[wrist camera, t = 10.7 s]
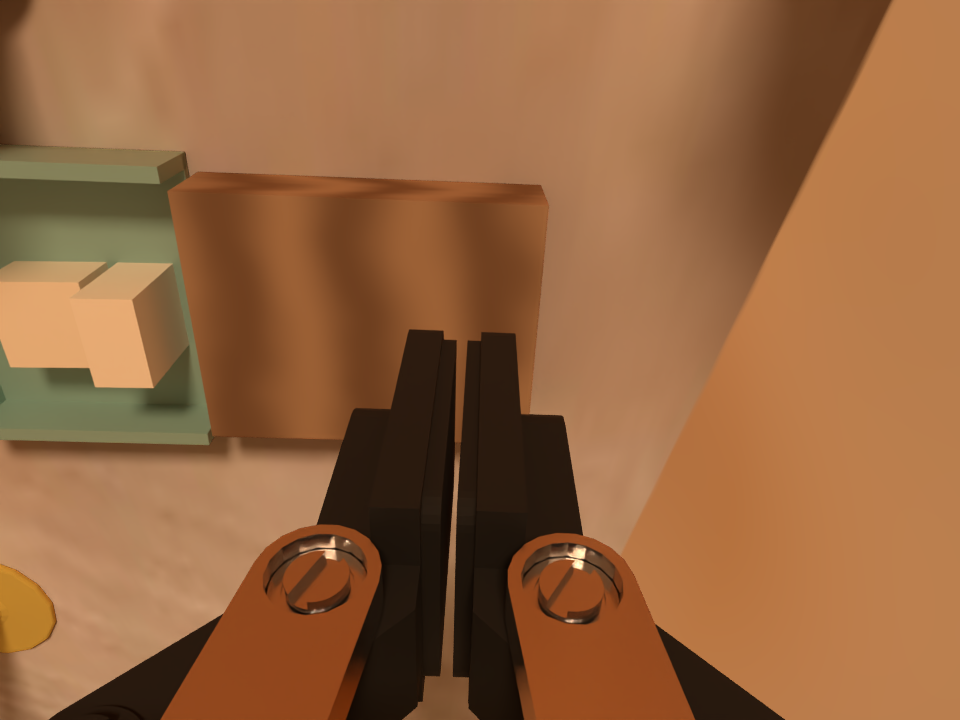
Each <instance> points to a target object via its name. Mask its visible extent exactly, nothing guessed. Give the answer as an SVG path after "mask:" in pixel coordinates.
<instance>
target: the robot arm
mask: <svg viewBox="0 0 960 720" xmlns="http://www.w3.org/2000/svg"><path fill="white" fill-rule="evenodd" d="M456 359H457V340H444V331H443V330H416V329H409V331H408V335H407V339H406V344H405V348H404V353H403V357H402V361H401V366H400V370H399V375H398V379H397V383H396V388H395V392H394V397H393V401H392V405H391V409H373V408H355V409H354V410H353V412H352V414H351V417H350V420H349V423H348V426H347V430H346V433H345V436H344V439H343V442H342V446H341V449H340V452H339V455H338V458H337V462H336V465H335V468H334V471H333V474H332V478H331V481H330V484H329V487H328V490H327V494H326V497H325V500H324V503H323V506H322V510H321V513H320V516H319V519H318V522H317V525H315V526H309V527H304V528H300V529H297V530H295V531H293V532H290V533H288V534H286V535H283V536H281V537H280V538H279V539H277V540H276V541H274V542H273V543H272V544H270V545H269V546H268V547H266V548H265V550H264V551H263V552H262V553H261V554H260V556H259V557H258V558H257V559H256V561H255V562H254V563H253V565H252V567H251V569H250V570H249V572H248V574H247V575H246V577H245V579H244V580H243V582H242V584H241V585H240V587H239V589H238V590H237V592H236V594H235V595H234V597H233V599H232V600H231V602H230V604H229V605H228V607H227V609H226V611H225V612H224V614H222V615H221V616H219V617H217V618H216V619H214V620H212V621H211V622H209V623H207V624H206V625H204V626H202V627H201V628H199V629H197V630H196V631H194V632H192V633H190V634H189V635H187V636H185V637H184V638H182V639H180V640H179V641H177V642H175V643H174V644H172V645H170V646H169V647H167V648H165V649H164V650H162V651H160V652H159V653H157V654H155V655H154V656H152V657H150V658H149V659H147V660H145V661H144V662H142V663H140V664H139V665H137V666H135V667H134V668H132V669H130V670H129V671H127V672H125V673H124V674H122V675H120V676H119V677H117V678H115V679H114V680H112V681H110V682H109V683H107V684H105V685H104V686H102V687H100V688H99V689H97V690H95V691H94V692H92V693H90V694H89V695H87V696H85V697H84V698H82V699H80V700H79V701H77V702H75V703H74V704H72V705H70V706H69V707H67V708H65V709H64V710H62V711H60V712H58V713H57V714H56V715H54V716H53V717H52V718H50V719H49V720H402V719H403V718H404V717H406V716H407V715H408V714H409V713H410V712H412V711H413V710H414V709H415V708H416V707H417V705H418V702H422V701H423V691H424V680H425V676H440V671H441V658H442V644H443V630H444V616H445V602H446V588H447V574H448V560H449V546H450V532H451V518H452V504H453V490H454V460H455V409H456ZM453 677H469V696H468V703H469V709H470V710H471V711H472V712H473V713H474V714H475V715H476V716H477V717H478V719H479V720H785V719H783V718H782V717H781V716H779V715H778V714H776V713H775V712H774V711H772V710H771V709H770V708H768V707H767V706H766V705H764V704H763V703H762V702H760V701H759V700H757V699H756V698H755V697H754V696H752V695H750V694H749V693H748V692H747V691H745V690H744V689H743V688H741V687H740V686H739V685H737V684H736V683H734V682H733V681H732V680H730V679H729V678H728V677H726V676H725V675H724V674H722V673H721V672H720V671H718V670H717V669H715V668H714V667H713V666H711V665H710V664H708V663H707V662H706V661H705V660H703V659H702V658H700V657H699V656H698V655H696V654H695V653H694V652H692V651H691V650H690V649H688V648H687V647H686V646H684V645H683V644H682V643H680V642H679V641H677V640H676V639H675V638H673V637H672V636H671V635H669V634H668V633H667V632H665V631H664V630H662V629H661V628H660V627H658V626H657V625H656V624H655V623H654V621H653V619H652V616H651V614H650V611H649V609H648V607H647V605H646V602H645V600H644V597H643V595H642V592H641V590H640V588H639V586H638V583H637V581H636V578H635V576H634V574H633V572H632V571H631V569H630V568H629V566H628V565H627V563H626V561H625V560H624V559H623V558H622V557H621V556H620V555H618V554H617V553H616V552H615V551H614V550H613V549H612V548H610V547H608V546H607V545H605V544H603V543H601V542H599V541H597V540H595V539H593V538H589V537H586V536H583V532H582V526H581V519H580V513H579V507H578V501H577V495H576V489H575V482H574V476H573V470H572V464H571V458H570V452H569V445H568V439H567V433H566V427H565V422H564V418H563V416H561V415H534V414H521V406H520V391H519V376H518V362H517V347H516V334H515V333H495V332H481V341H470V340H468V341H467V356H466V372H465V388H464V404H463V420H462V436H461V452H460V468H459V484H458V501H457V525H456V566H455V609H454V652H453Z"/></svg>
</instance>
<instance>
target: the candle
mask: <svg viewBox="0 0 960 720" xmlns="http://www.w3.org/2000/svg"><path fill="white" fill-rule="evenodd" d="M55 623H56V616H55V611H54V606H53V603H52V601H51V600H50V599H49V598H48V596H47V595H46V594H45V593H44V591H43V590H42V589H41V587H40V586H39V585H38V584H36V583H35V582H33V581H32V580H30V579H29V578H27V577H26V576H24V575H23V574H21V573H20V572H18V571H17V570H15V569H12V568H9V567H7V566H4V565H1V564H0V652H2V653H11V652H17V651H22V650H28V649H32V648H33V647H35V646H36V645H38V644H39V643H41V642H43V641H44V640H46V639H47V638H48V637H49V636H50V634H51V632H52V629H53V627H54V625H55Z"/></svg>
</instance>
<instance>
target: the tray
mask: <svg viewBox="0 0 960 720" xmlns="http://www.w3.org/2000/svg"><path fill="white" fill-rule="evenodd" d="M187 178H189V173H188V167H187V161H186V155H185V152H178V151H153V150H128V149H103V148H78V147H53V146H28V145H3V144H0V269H1V268H3V267H5V266H7V265H8V264H10V263H12V262H13V261H57V262H107V266H108V269H109V268H111V267H112V266H113V265H115V264H116V263H117V262H122V263H170V264H173V267H174V272H175V277H176V282H177V287H178V292H179V297H180V301H181V306H182V311H183V316H184V321H185V326H186V331H187V335H188V340H189V345H188V346H187V348H186V349H185V350H184V351H183V353H182V354H181V355H180V356H179V358H178V359H177V360H176V361H175V362H174V364H173V365H172V366H171V367H170V369H169V370H168V371H167V372H166V373H165V375H164V376H163V377H162V378H161V380H160V381H159V382H158V383H157V385H156V386H155V387H154V388H112V387H95V385H94V382H93V378H92V375H91V371H90V368H25V367H10V365H9V362H8V359H7V357H6V354H5V351H4V349H3V346H2V343H1V341H0V440H27V441H66V442H106V443H146V444H185V445H210V443H211V442H212V440H213V438H214V436H212V430H211V425H210V420H209V414H208V409H207V403H206V398H205V393H204V387H203V382H202V376H201V371H200V366H199V360H198V355H197V349H196V344H195V339H194V333H193V328H192V322H191V317H190V312H189V306H188V301H187V295H186V290H185V285H184V279H183V274H182V268H181V263H180V258H179V252H178V247H177V241H176V236H175V230H174V225H173V220H172V214H171V209H170V203H169V198H168V193H167V191H168V190H170V189H172V188H173V187H175V186H176V185H178V184H180V183H181V182H183V181H184V180H186V179H187Z"/></svg>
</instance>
